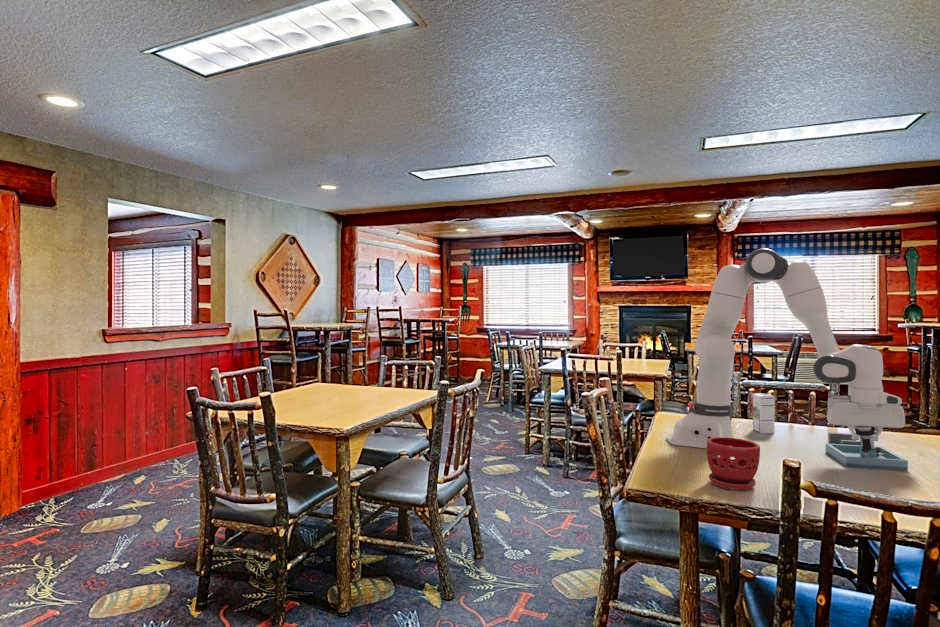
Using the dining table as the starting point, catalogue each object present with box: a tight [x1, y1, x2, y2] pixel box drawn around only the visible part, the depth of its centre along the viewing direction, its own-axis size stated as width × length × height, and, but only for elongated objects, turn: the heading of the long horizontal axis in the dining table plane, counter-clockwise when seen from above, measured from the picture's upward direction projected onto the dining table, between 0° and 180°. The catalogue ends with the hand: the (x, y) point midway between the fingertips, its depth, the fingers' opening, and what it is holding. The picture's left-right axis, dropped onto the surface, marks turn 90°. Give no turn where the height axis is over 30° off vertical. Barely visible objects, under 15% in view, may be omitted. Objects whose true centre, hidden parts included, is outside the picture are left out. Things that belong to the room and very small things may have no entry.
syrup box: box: [752, 392, 775, 434], centre depth 208 cm, size 6×6×14 cm
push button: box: [853, 426, 884, 458], centre depth 169 cm, size 7×5×10 cm
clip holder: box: [827, 432, 861, 445], centre depth 185 cm, size 8×12×4 cm, turn 165°
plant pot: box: [706, 437, 761, 491], centre depth 148 cm, size 13×13×12 cm
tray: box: [825, 443, 909, 471], centre depth 169 cm, size 16×16×3 cm
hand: (864, 440), depth 169 cm, fingers closed on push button, 4 cm apart
